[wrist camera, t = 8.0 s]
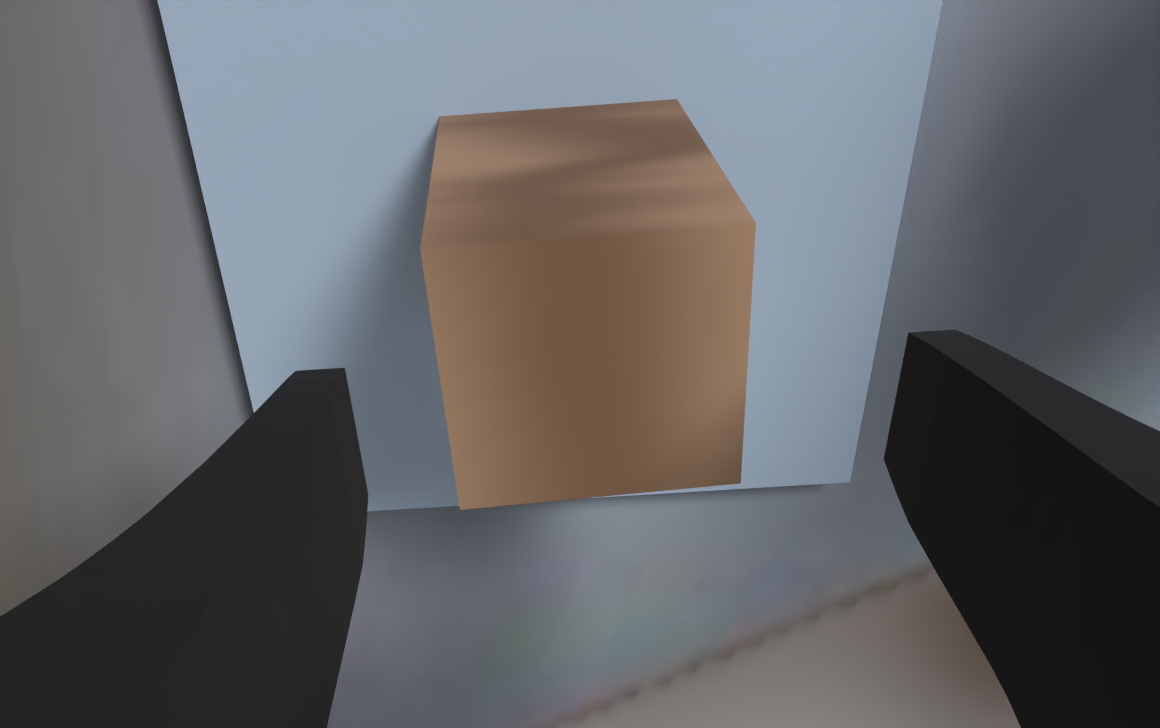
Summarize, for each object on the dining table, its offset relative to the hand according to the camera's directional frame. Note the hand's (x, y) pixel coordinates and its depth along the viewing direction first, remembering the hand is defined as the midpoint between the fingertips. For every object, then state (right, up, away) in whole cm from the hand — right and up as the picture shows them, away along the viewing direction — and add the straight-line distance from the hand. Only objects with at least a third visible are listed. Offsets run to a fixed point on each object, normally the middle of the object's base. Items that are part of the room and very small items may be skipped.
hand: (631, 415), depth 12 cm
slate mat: (-1, +4, +8) cm, 8 cm away
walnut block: (-1, +4, +7) cm, 8 cm away
